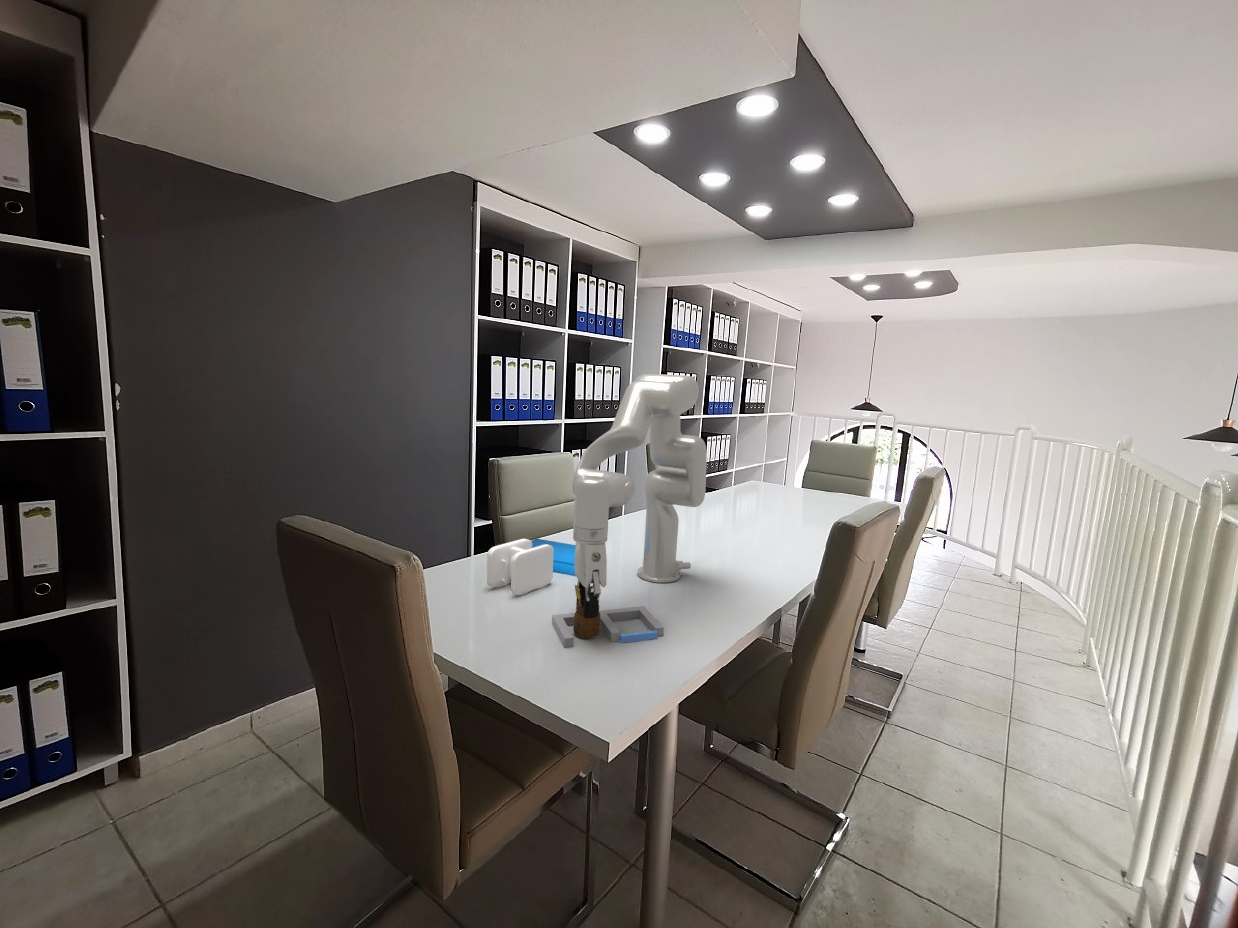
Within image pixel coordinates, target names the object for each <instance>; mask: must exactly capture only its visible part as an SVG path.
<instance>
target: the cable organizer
mask: <svg viewBox="0 0 1238 928" xmlns="http://www.w3.org/2000/svg"><path fill="white" fill-rule="evenodd" d="M531 541H532V540H530V539H527V538H521V539H517V540H513V541H509V542H506V543H502V544H498V545H495V546H492V547H491V548H490V549H489V550H488V551H487V556H486V557H487V558H486V560H487V561H486V569H487V570H486V584H487V586H490V587H492V588H498V589H499V588H502V587H504V586H506V587H507V586H508V584H510V591H511V592H512V594H514V595H517V596H524V595H525V594H529V593H530V592H531V591H533V590H536V589H537V590H539V589H541V588H544V587H546V586H547V585H548V584H550V583H551V581H552V579H553V576H554V574H553V573H554V572H553V552H554V549H553V547H552V546H551V545H547V544H544V545H541V546H538V547H534V548H532V542H531ZM523 594H524V595H523Z"/></svg>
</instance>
